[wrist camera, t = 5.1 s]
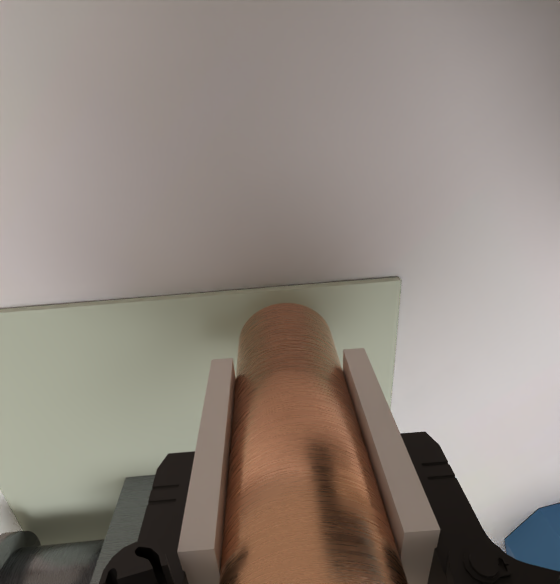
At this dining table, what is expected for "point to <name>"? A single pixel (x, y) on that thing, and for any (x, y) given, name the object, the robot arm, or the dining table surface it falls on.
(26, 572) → the metal mallet head
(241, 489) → the brown mallet handle
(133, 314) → the mat
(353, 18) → the dining table surface
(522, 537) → the water bottle
